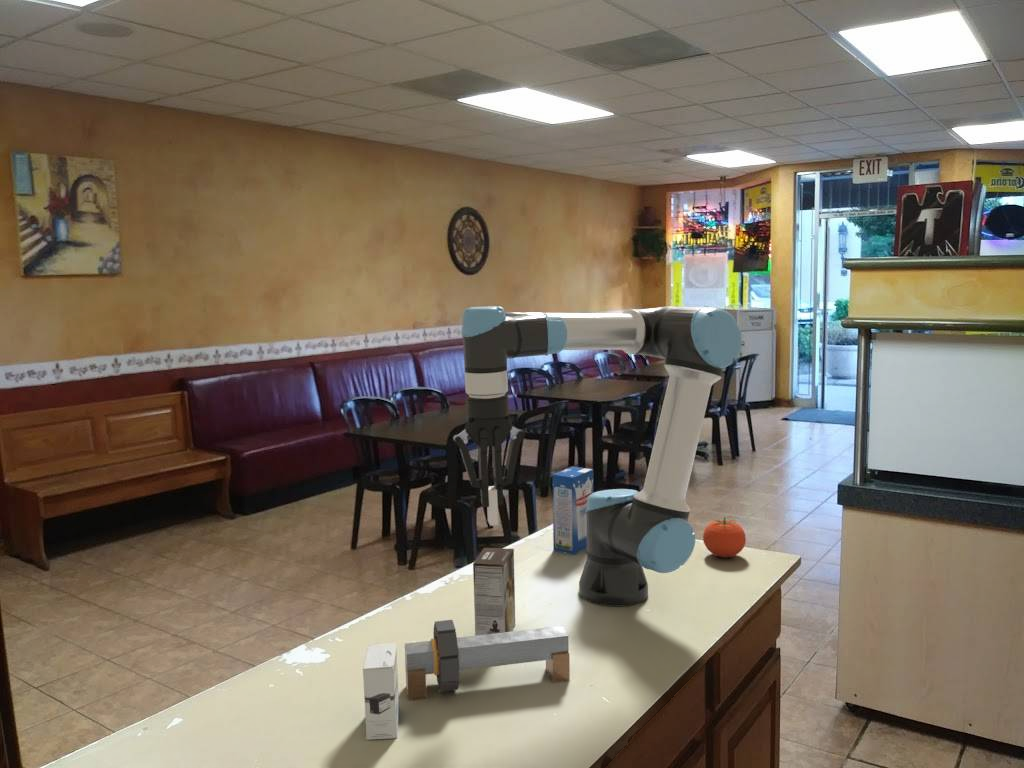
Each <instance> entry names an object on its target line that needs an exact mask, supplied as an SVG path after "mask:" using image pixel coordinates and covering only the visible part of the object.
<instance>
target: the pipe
mask: <svg viewBox="0 0 1024 768" xmlns="http://www.w3.org/2000/svg"><path fill="white" fill-rule="evenodd" d="M457 644H458V652H459V656H458V657H459V672H461V671H466V670H475V669H476V670H477V669H482V668H484V669H485V668H492V667H499V666H500V667H501V666H509V665H517V664H525V663H533V662H542V661H545V670H546V673H548V676H549V678H550V679H551V682H552V683H558V682H559V683H560V682H567V681H568V682H569V681H570V680H571V679H570V676H571V675H570V669H571V667H570V652H569V647H570V646H569V645H570V643H569V634H568V632H567V631H566V629H565V627H564V626H563V625H560V626H559V625H558V626H551V627H549V626H548V627H541V628H533V629H525V630H524V629H522V630H516V631H515V630H514V631H513V630H512V632H504V633H495V634H486V635H477V636H475V635H470V636H469V635H468V636H462V637H461V636H460V637H457ZM404 661H405V662H404V663H405V686H406V693H407V698H408V699H407V700H408V701H416V700H424V699H427V675H433V674H434V676H436V675H440V657H439V648H438V640H437V638H436V639H434V638H430V640H425V641H415V642H406V643H404Z"/></svg>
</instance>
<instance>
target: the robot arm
mask: <svg viewBox="0 0 1024 768" xmlns="http://www.w3.org/2000/svg"><path fill="white" fill-rule="evenodd" d="M461 323H462V324H461V337H462V346H463V347H462V348H463V361H464V362H463V364H464V382H465V383H464V385H465V389H464V390H465V393H466V394H467V397H465V404H466V405H465V406H466V407H465V408H466V422H465V424H464V429H463V430H462V431H461V432H460V433H458V434H456V433H455V434H454V435H453V436H452V439H453V441H454V442H455V445H457V446H458V447H459V451H460V454H461V458H462V460H463V465H464V468H465V470H466V474H467V477H468V480H469V481H468V482H469V483H470V485H471V487H472V488H474V489H475V488H476V489H479V491H480V503H481V505H482V507H483V508H486V510H487V515H486V516H487V522H488V524H489V526H490V527H492V526H499V506H503V504H504V491H503V490H504V487H505V486H507V485H511V484H513V481H514V476H515V471H516V467H517V462H518V461H517V460H518V455H519V450H520V445H521V443H522V441H523V440H524V438H525V436H526V433H525V432H524V431H523V430H522V429H520V428H517V427H516V426H513V422H512V421H511V419H510V405H509V403H510V402H509V396H508V395H507V392H509V382H508V359H515V358H525V357H526V358H527V357H537V356H548V355H552V354H553V355H554V354H558V353H560V352H562V351H587V350H588V351H591V350H592V351H596V350H597V351H604V350H605V351H606V350H607V351H608V350H609V351H611V350H612V351H613V350H615V351H623V352H624V353H625V354H627V355H641V356H649V357H652V358H658V359H663V360H665V361H664V365H663V367H664V368H665V370H666V371H667V373H668V376H669V378H668V381H667V386H666V390H665V393H664V394H665V395H664V399H663V403H662V408H661V410H660V411H661V412H660V417H659V420H658V425H657V428H656V434H655V438H654V441H653V445H652V450H651V454H650V459H649V462H648V466H647V472H646V476H645V479H644V483H643V488H642V490H640V491H638V490H636V489H631V488H630V489H628V488H616V489H615V488H613V489H603V490H599V491H598V490H597V491H595V492H594V491H593V493H592V494H591V495H589V497H588V498H587V506H586V514H587V548H586V561H585V564H584V566H583V569H582V571H581V572H582V573H581V576H580V578H579V582H578V594H579V596H580V597H582V599H584V600H585V601H588V602H590V603H592V604H595V605H599V606H606V607H628V606H632V605H637V604H639V603H641V602H643V601H644V600H646V599H647V598H648V595H649V583H648V580H647V577H646V575H645V571H644V569H646V570H650V571H654V572H656V573H659V574H669V573H672V572H675V571H676V570H678V569H679V568H680V567H681V566H684V565H685V564H686V563H687V562H688V560H689V558H690V557H691V556H692V555H693V554H692V553H693V552H694V549H695V545H696V533H695V532H694V528H693V526H692V525H691V523H690V522H689V517H690V511H691V509H690V506H689V505H688V504H687V502H686V496H687V491H688V487H689V483H690V478H691V475H692V471H693V466H694V462H695V458H696V453H697V449H698V445H699V441H700V436H701V432H702V427H703V424H704V419H705V415H706V411H707V406H708V403H709V402H708V401H709V397H710V393H711V389H712V386H713V385H714V384H715V383H717V382H718V381H719V380H721V379H722V376H723V372H724V369H725V368H727V367H729V366H731V365H732V364H733V362H734V361H735V362H736V360H737V359H738V357H739V355H740V353H741V350H742V349H741V348H742V344H743V343H742V342H743V341H742V337H743V336H742V331H741V328H740V326H739V325H738V322H737V320H736V318H735V317H734V316H733V315H732V314H731V313H730V312H729V311H727V310H725V309H722V308H717V307H713V306H711V307H710V306H681V305H671V306H670V305H668V306H659V307H651V308H641V309H639V308H638V309H636V308H635V309H626V310H625V311H624V312H623V313H594V312H593V313H588V312H584V313H583V312H528V311H527V312H518V311H505V308H504V307H502V306H500V305H499V306H497V305H496V306H495V305H491V306H490V305H488V306H472V307H471V306H470V307H468V308H466V309H465V310H463V312H462V319H461ZM508 436H509V438H510V443H509V446H508V451H507V455H506V456H507V457H506V463H505V469H504V473H503V460H502V448H503V446H502V444H503V443H504V442H505V440H506V438H507V437H508ZM468 437H469V438H470V439H471V440H472V441H473V442H474V443H475V444H476V445H477V450H478V451H477V453H478V454H477V455H478V474H479V478H477V474H476V471H475V467H474V464H473V460H472V457H471V455H470V454H471V453H470V450H469V447H468V446H467V444H468V443H469V440H468ZM488 447H489V448H490V447H491V451H492V452H491V454H492V468H493V469H492V471H493V472H492V473H493V474H492V475H493V483H494V484H493V485H489V483H490V481H489V463H488Z"/></svg>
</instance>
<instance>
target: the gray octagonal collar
mask: <svg viewBox="0 0 1024 768" xmlns="http://www.w3.org/2000/svg"><path fill="white" fill-rule="evenodd" d="M456 631H457V630H456V626H455V623H454V621H453V619H446V620H438V621H437V620H436V621H434V625H433V639H436V638H437V640H438V648H439V657H440V675H435V676H436V681H437V686H438V691H439V692H440V693H442V692H451V691H452V692H453V691H458V689H459V687H460V678H461V677H460V671H459V657H458V656H459V652H458V644H457V638H458V637H457V632H456Z"/></svg>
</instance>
